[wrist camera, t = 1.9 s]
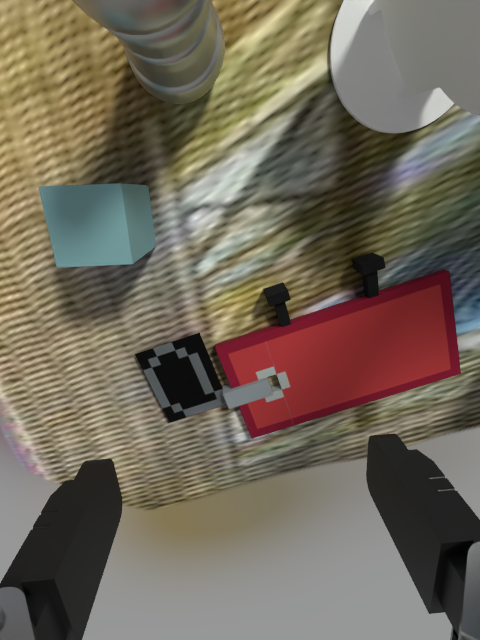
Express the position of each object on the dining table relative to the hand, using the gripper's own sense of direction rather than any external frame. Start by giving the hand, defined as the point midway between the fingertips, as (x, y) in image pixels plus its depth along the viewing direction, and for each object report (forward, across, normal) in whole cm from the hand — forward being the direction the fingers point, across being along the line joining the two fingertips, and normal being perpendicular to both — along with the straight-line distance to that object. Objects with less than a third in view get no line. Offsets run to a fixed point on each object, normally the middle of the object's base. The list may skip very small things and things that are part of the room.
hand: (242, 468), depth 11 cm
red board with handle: (+23, -6, +7) cm, 25 cm away
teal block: (+23, +9, -7) cm, 25 cm away
